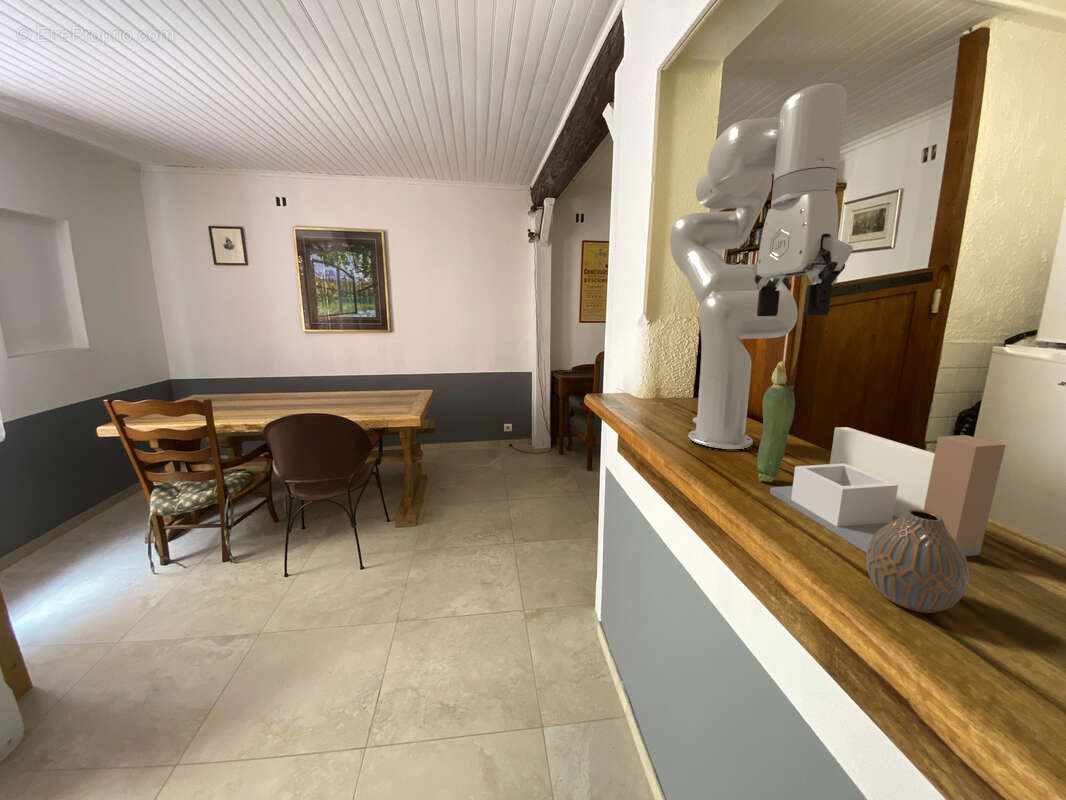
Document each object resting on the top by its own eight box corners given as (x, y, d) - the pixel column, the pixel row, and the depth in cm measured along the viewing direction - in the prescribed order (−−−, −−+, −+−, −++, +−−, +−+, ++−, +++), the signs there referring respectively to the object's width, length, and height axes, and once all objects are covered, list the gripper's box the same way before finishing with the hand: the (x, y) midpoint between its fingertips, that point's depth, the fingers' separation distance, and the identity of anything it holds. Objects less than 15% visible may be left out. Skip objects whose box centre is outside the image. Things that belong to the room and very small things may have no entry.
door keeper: (769, 493, 61) (779, 411, 58) (840, 488, 62) (852, 407, 60) (884, 564, 43) (905, 450, 41) (979, 554, 45) (1005, 444, 42)
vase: (925, 633, 34) (945, 540, 32) (844, 582, 41) (857, 503, 39) (979, 616, 36) (1001, 527, 34) (893, 570, 42) (907, 494, 41)
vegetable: (759, 474, 68) (771, 358, 64) (788, 481, 65) (803, 359, 61) (750, 482, 65) (763, 360, 61) (780, 489, 62) (796, 362, 58)
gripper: (739, 208, 64) (731, 316, 67) (830, 168, 47) (813, 315, 51) (782, 209, 65) (772, 316, 68) (886, 169, 48) (866, 314, 51)
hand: (789, 315), depth 59 cm, fingers open, 9 cm apart
